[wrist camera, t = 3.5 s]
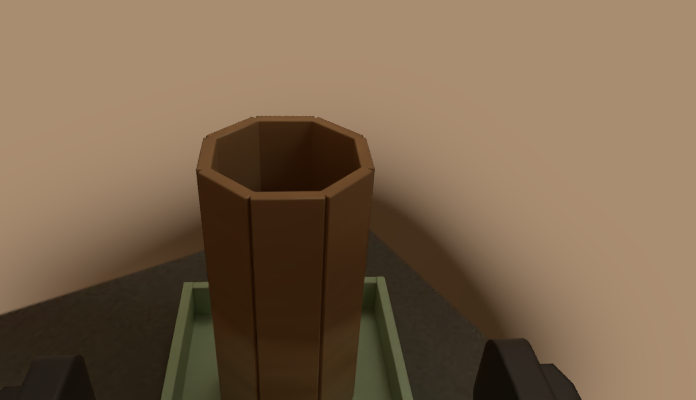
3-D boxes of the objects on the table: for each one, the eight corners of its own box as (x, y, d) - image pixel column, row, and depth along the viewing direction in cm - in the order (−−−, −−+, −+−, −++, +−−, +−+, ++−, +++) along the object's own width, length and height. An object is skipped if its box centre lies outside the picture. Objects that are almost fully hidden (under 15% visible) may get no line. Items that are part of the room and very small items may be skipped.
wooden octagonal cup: (376, 380, 28) (404, 151, 21) (289, 469, 24) (288, 222, 17) (286, 319, 31) (285, 102, 24) (196, 389, 27) (162, 152, 20)
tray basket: (380, 309, 33) (384, 276, 32) (419, 492, 24) (427, 457, 23) (188, 316, 32) (183, 282, 31) (154, 512, 23) (144, 476, 22)
